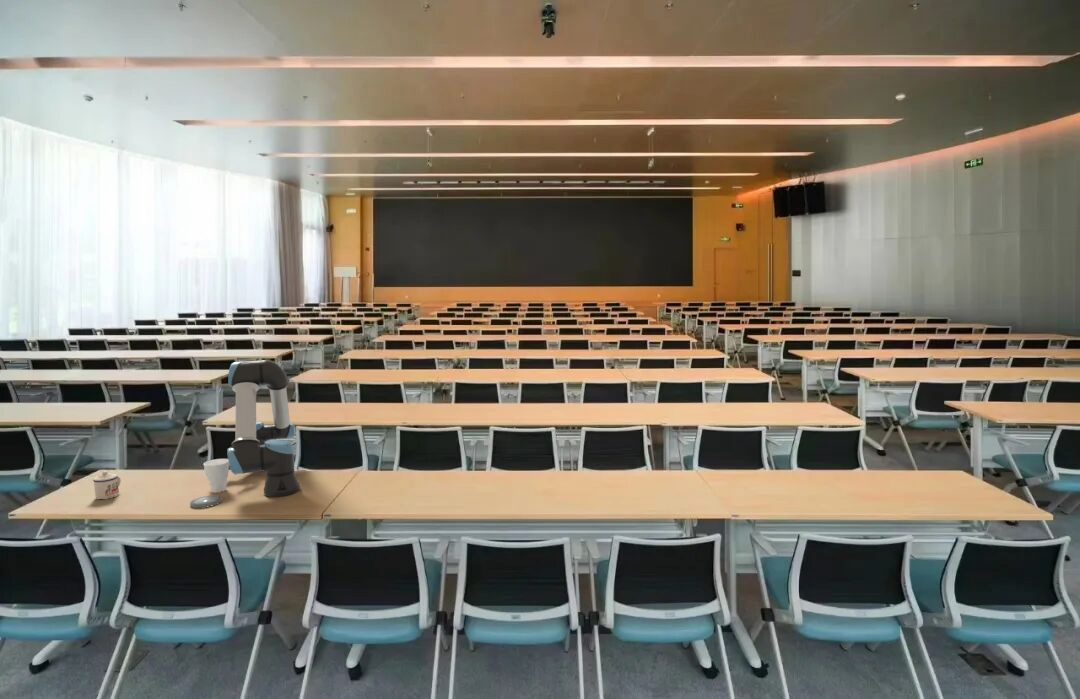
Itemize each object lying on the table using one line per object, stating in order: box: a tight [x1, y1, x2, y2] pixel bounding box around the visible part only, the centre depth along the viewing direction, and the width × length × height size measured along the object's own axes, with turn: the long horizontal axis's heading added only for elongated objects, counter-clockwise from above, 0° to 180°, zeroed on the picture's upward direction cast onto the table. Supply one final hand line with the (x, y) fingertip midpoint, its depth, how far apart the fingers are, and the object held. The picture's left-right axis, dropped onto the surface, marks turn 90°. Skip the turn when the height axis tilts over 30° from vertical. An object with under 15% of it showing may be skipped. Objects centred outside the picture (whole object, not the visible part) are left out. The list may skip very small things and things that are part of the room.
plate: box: [189, 495, 223, 509], centre depth 268 cm, size 12×12×1 cm
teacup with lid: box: [92, 470, 122, 500], centre depth 280 cm, size 12×9×12 cm
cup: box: [203, 458, 230, 493], centre depth 283 cm, size 10×10×14 cm
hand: (220, 471), depth 286 cm, fingers open, 13 cm apart
